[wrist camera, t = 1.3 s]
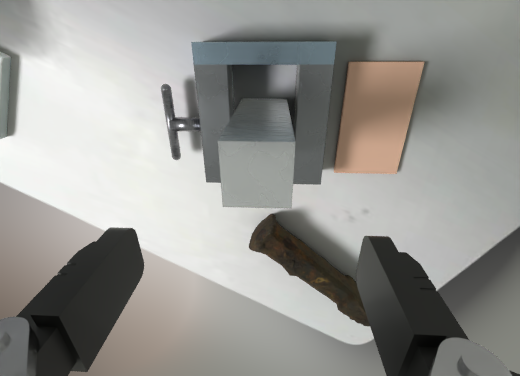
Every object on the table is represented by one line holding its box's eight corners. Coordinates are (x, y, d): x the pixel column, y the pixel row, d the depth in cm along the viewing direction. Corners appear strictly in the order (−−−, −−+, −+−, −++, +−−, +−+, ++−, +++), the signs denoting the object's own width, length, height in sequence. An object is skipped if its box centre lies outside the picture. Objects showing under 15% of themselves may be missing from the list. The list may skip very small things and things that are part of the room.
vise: (160, 42, 23) (145, 42, 20) (329, 41, 22) (336, 41, 20) (180, 168, 28) (170, 181, 26) (316, 170, 28) (320, 184, 25)
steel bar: (242, 98, 25) (217, 141, 14) (286, 98, 25) (295, 141, 14) (243, 141, 27) (222, 206, 16) (284, 141, 27) (291, 208, 16)
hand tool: (248, 228, 32) (244, 256, 28) (272, 208, 30) (271, 234, 26) (351, 308, 38) (360, 341, 33) (376, 294, 36) (389, 327, 32)
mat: (348, 61, 23) (349, 62, 23) (422, 61, 23) (424, 61, 22) (333, 171, 28) (334, 172, 27) (394, 172, 27) (396, 173, 27)
